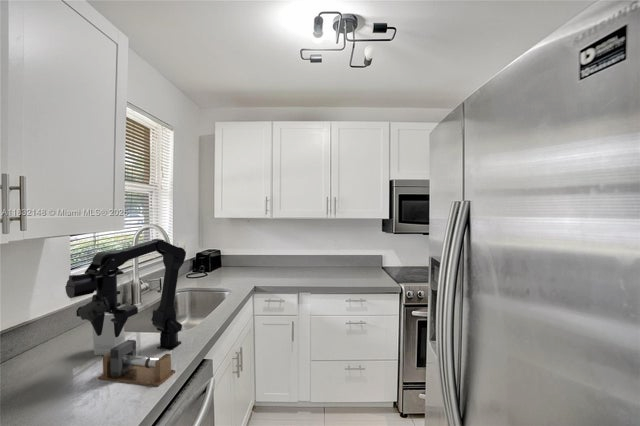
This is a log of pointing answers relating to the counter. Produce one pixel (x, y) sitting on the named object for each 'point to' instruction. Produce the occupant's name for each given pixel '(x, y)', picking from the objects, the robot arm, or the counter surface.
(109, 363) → the pipe rig
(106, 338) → the skincare box
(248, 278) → the counter surface
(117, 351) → the collar
